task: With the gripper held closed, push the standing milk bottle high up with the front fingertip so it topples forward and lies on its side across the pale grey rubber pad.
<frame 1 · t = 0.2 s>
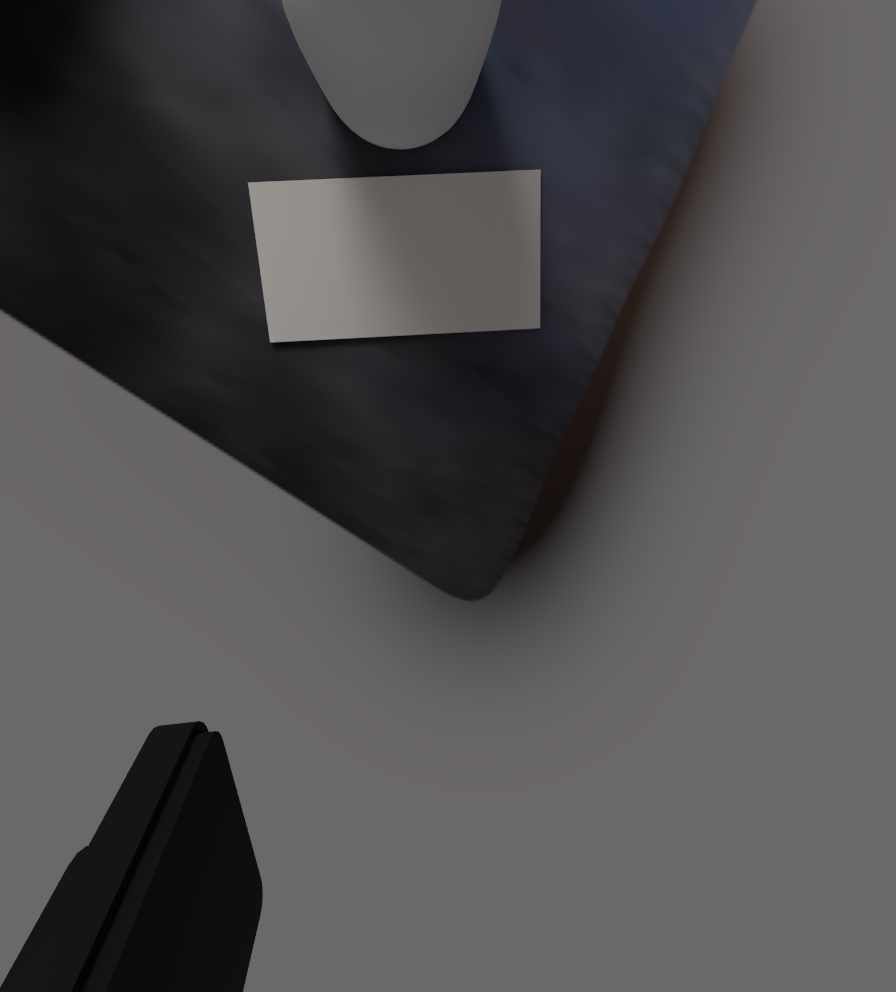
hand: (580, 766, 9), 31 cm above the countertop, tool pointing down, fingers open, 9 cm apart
milk bottle: (398, 65, 33), on the countertop
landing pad: (401, 258, 35), on the countertop
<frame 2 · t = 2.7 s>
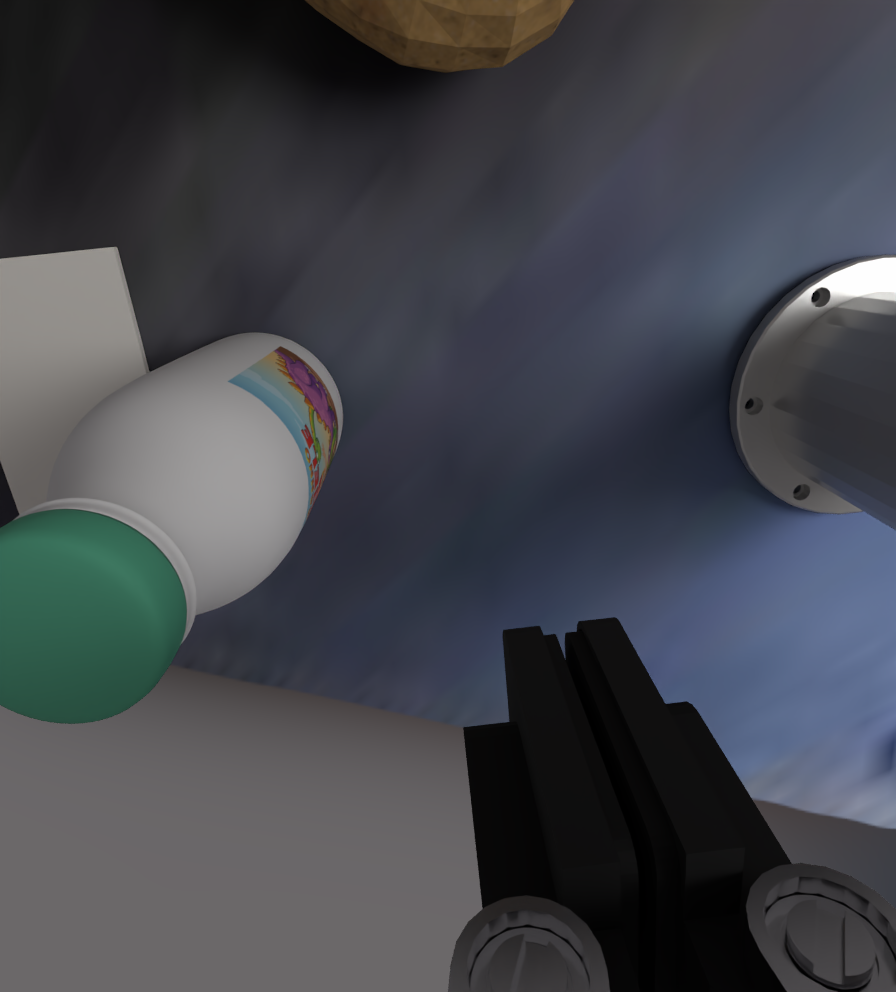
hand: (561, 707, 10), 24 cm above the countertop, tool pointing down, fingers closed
milk bottle: (266, 410, 32), on the countertop
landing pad: (77, 421, 32), on the countertop
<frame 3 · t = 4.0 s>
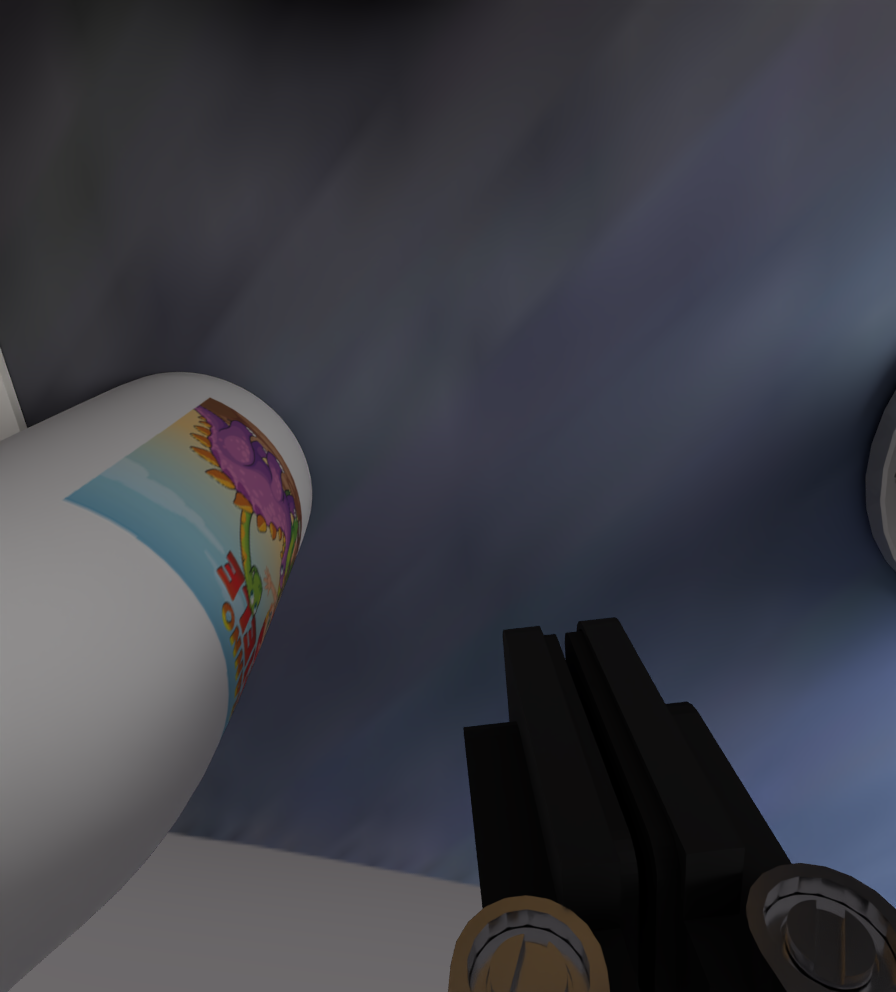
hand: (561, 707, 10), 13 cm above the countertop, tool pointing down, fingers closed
milk bottle: (201, 480, 22), on the countertop
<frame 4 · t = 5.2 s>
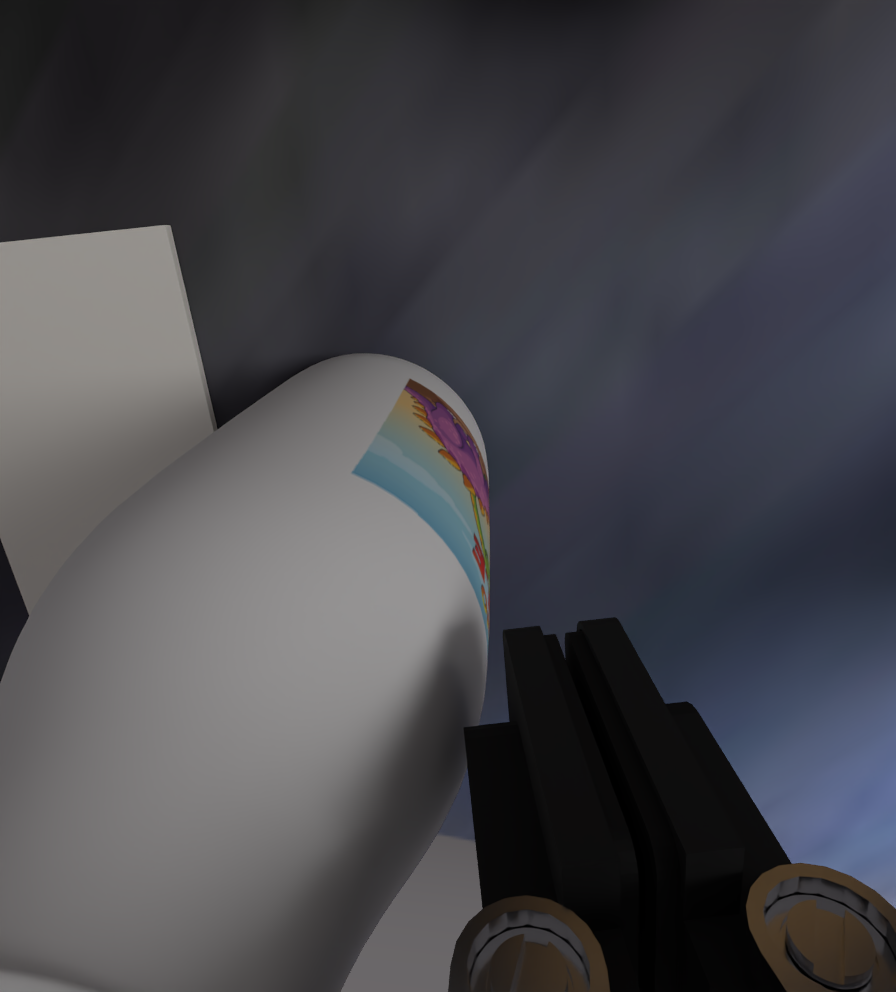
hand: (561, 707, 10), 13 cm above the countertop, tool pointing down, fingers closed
milk bottle: (374, 463, 22), on the countertop, touching gripper
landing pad: (108, 476, 22), on the countertop
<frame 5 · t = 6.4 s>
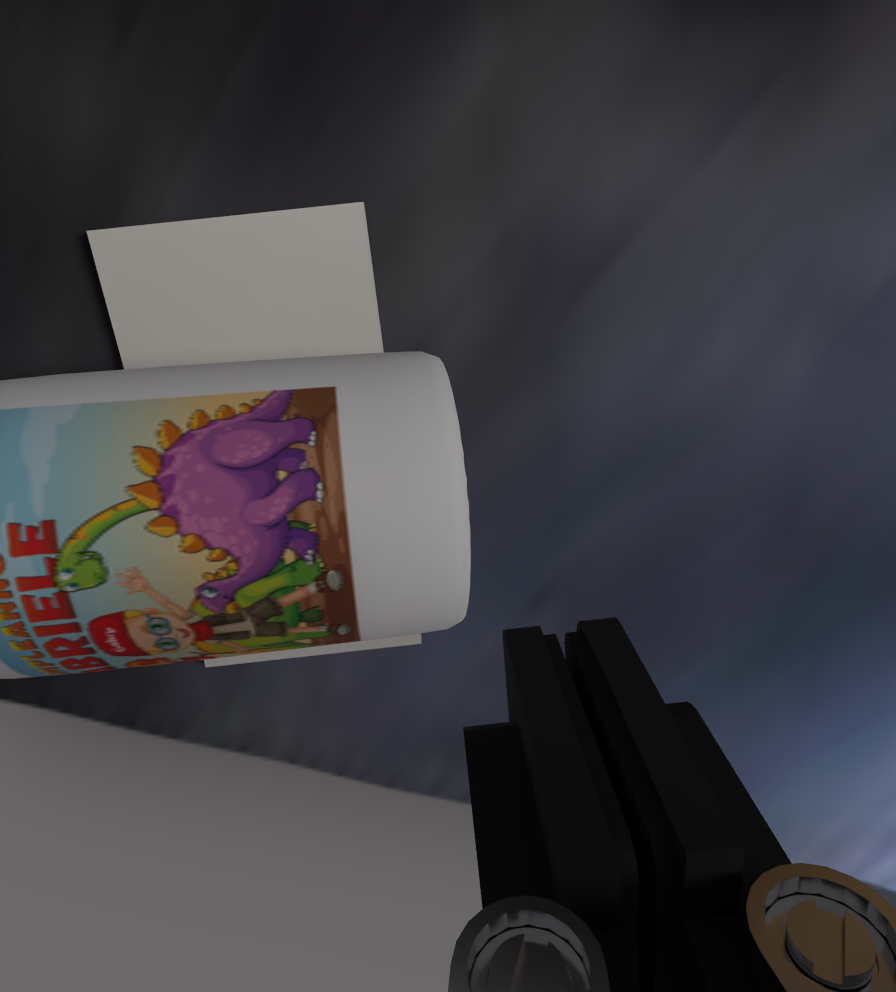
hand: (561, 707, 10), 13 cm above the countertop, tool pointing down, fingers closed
milk bottle: (458, 488, 18), point 4 cm above the countertop, touching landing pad
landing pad: (277, 459, 22), on the countertop
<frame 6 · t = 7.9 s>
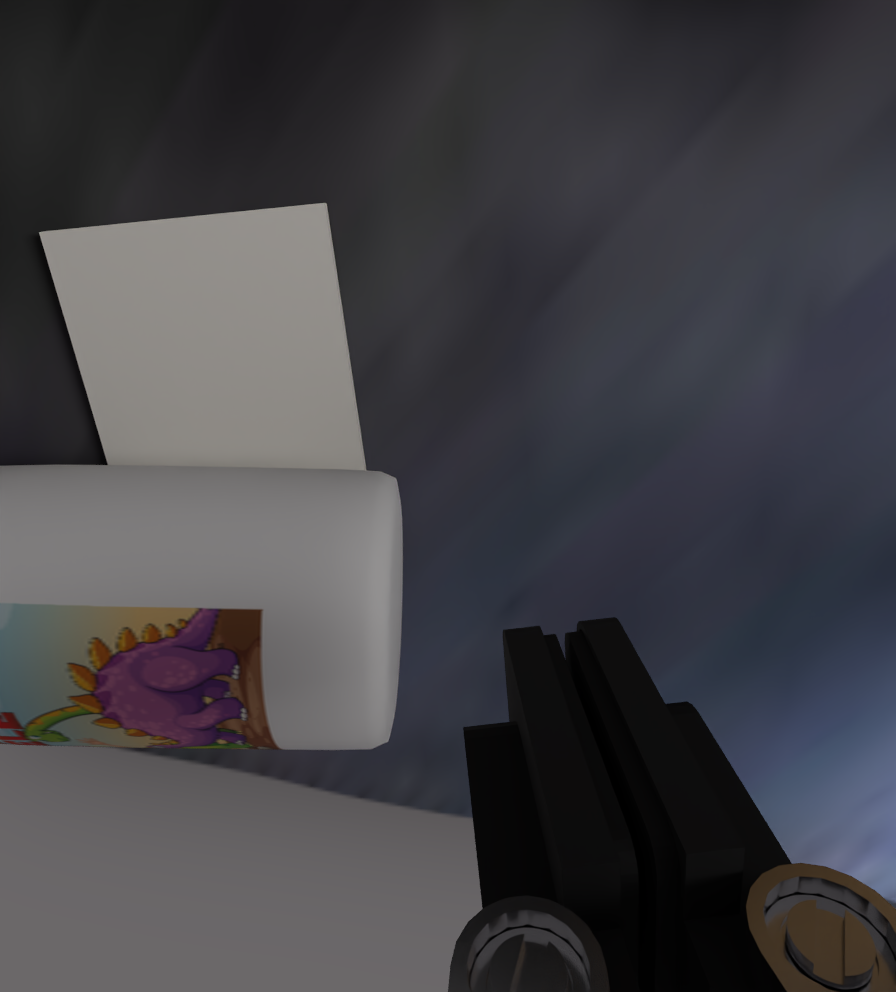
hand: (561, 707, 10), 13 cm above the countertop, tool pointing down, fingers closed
milk bottle: (406, 605, 19), point 4 cm above the countertop, touching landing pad
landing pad: (241, 465, 21), on the countertop
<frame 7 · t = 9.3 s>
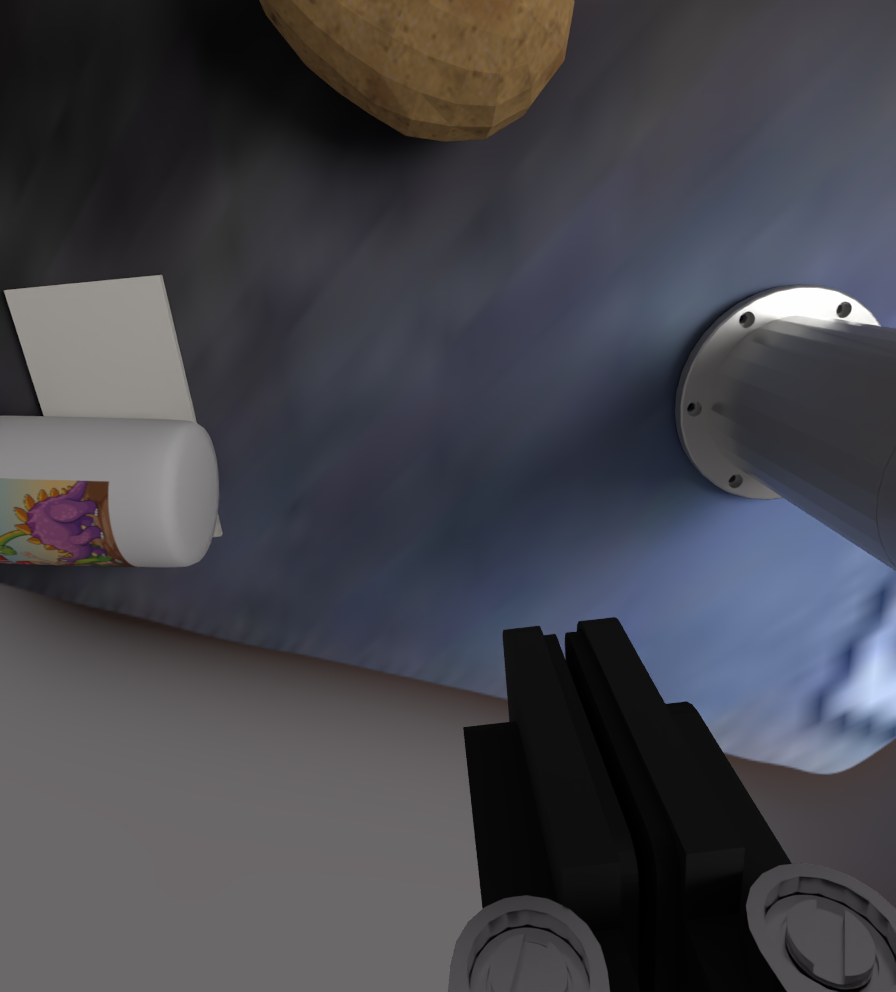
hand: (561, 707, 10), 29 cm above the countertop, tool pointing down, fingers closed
potato: (405, 28, 32), on the countertop
milk bottle: (203, 494, 34), point 4 cm above the countertop, touching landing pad
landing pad: (123, 421, 37), on the countertop
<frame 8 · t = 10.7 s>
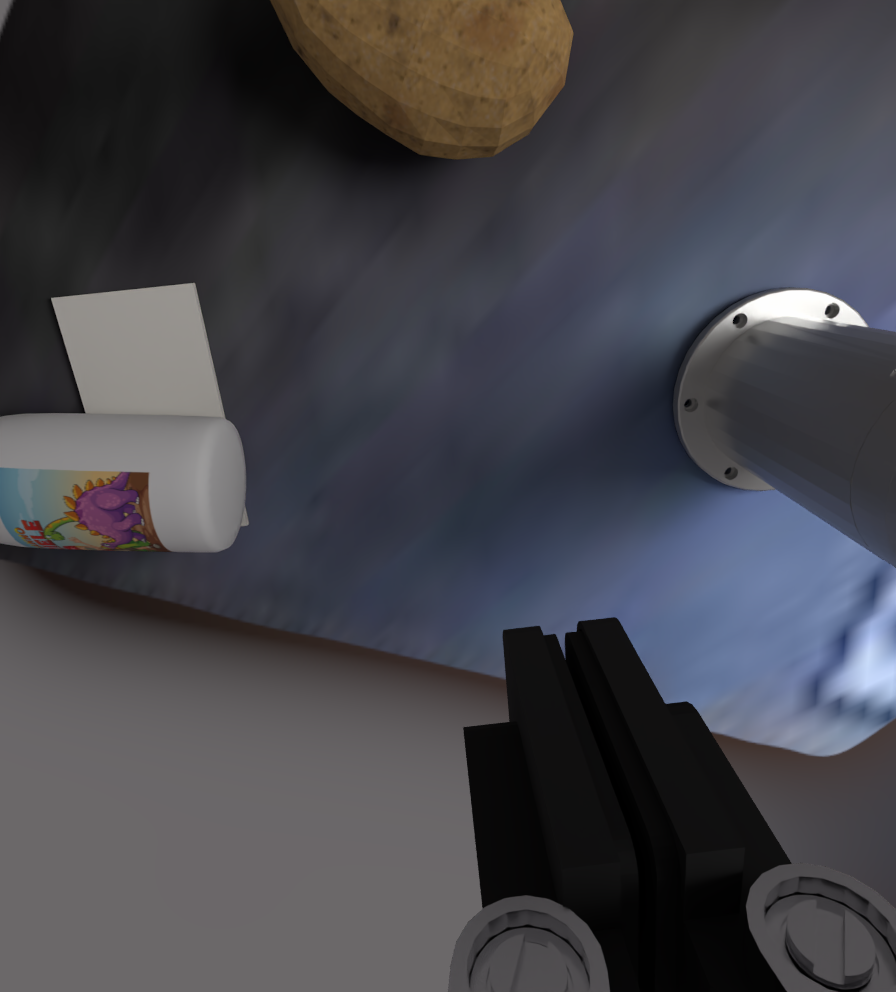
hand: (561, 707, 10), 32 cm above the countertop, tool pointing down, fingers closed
potato: (418, 54, 34), on the countertop
milk bottle: (233, 485, 37), point 4 cm above the countertop, touching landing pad
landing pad: (158, 418, 40), on the countertop
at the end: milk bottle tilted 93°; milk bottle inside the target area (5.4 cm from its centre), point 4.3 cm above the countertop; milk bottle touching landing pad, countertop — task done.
